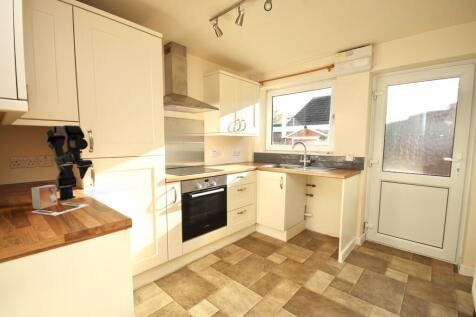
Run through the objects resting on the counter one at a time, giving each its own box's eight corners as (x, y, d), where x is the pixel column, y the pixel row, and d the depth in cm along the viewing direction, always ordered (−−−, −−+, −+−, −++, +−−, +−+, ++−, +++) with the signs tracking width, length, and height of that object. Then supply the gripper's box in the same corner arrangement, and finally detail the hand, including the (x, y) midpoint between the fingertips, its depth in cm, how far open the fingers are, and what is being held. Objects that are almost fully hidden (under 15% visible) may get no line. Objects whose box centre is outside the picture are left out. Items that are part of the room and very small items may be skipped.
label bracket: (31, 212, 102) (31, 211, 102) (67, 202, 117) (67, 202, 117) (54, 215, 97) (54, 214, 97) (88, 205, 113) (88, 204, 112)
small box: (40, 209, 106) (38, 188, 105) (32, 208, 108) (30, 187, 107) (58, 204, 114) (56, 185, 113) (50, 204, 116) (49, 184, 115)
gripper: (43, 149, 111) (46, 180, 112) (70, 150, 105) (72, 182, 107) (66, 148, 122) (68, 176, 123) (92, 149, 116) (94, 178, 117)
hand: (75, 178), depth 117 cm, fingers open, 9 cm apart
